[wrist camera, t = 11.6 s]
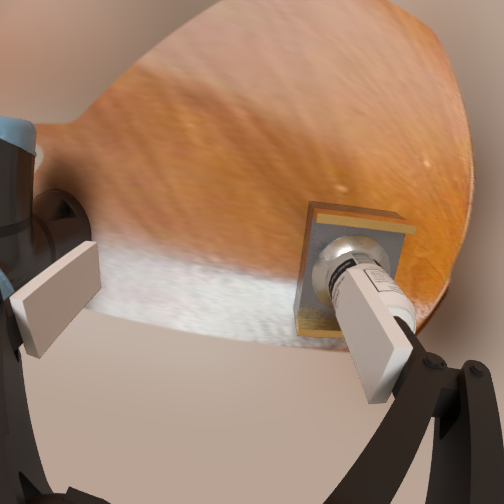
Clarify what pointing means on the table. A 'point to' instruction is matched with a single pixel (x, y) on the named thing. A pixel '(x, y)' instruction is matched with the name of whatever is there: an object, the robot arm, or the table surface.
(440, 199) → the table surface
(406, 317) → the supplement can
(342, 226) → the grey boxy piece
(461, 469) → the robot arm
